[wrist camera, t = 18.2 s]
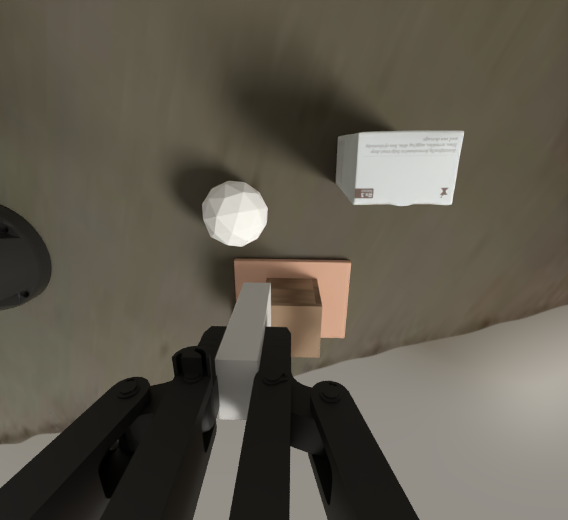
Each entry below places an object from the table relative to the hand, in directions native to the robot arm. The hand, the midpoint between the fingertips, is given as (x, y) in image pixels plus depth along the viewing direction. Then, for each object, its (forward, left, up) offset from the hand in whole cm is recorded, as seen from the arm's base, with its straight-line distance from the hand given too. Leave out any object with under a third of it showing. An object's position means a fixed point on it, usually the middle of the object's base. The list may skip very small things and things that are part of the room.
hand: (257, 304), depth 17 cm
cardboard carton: (+2, -12, -23) cm, 26 cm away
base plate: (+2, -12, -24) cm, 27 cm away
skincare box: (+11, +7, -25) cm, 28 cm away
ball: (-5, +1, -25) cm, 25 cm away
